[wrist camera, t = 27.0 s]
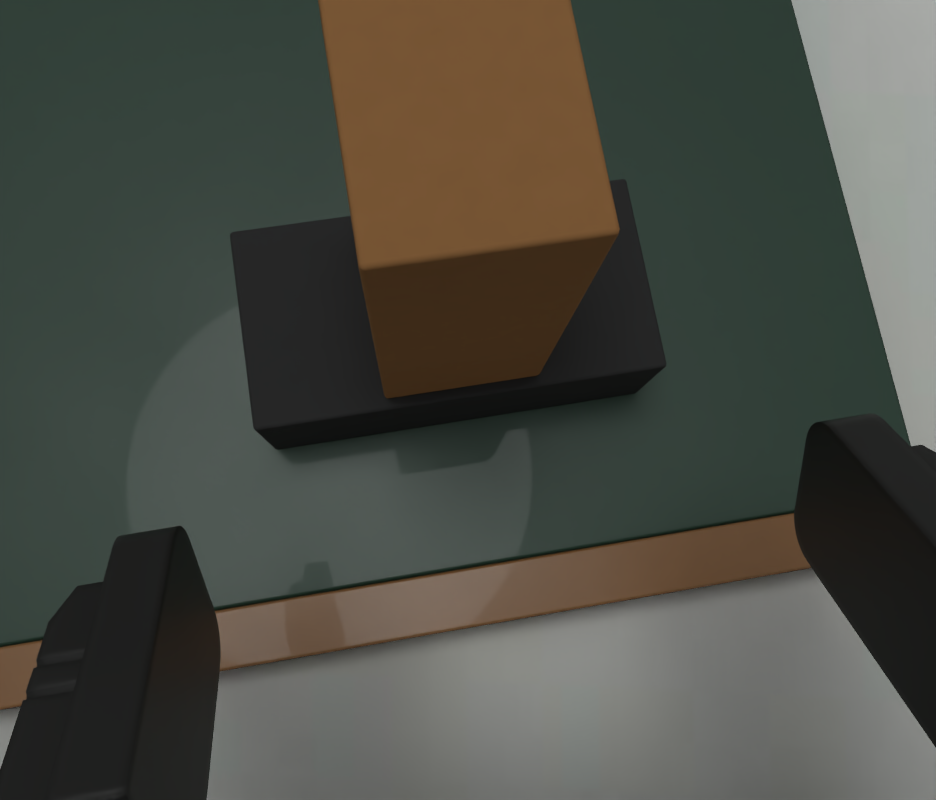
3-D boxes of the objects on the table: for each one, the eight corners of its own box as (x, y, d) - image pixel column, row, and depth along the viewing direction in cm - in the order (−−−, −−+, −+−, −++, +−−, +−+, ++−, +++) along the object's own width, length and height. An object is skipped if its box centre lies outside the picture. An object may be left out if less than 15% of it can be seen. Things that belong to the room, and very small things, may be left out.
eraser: (275, 450, 19) (130, 319, 9) (252, 274, 19) (97, -8, 10) (637, 393, 19) (836, 219, 10) (602, 226, 20) (756, -80, 11)
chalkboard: (-15, 709, 18) (-45, 717, 17) (-55, -12, 22) (-82, -46, 20) (938, 542, 20) (970, 540, 19) (765, -100, 23) (783, -136, 22)
